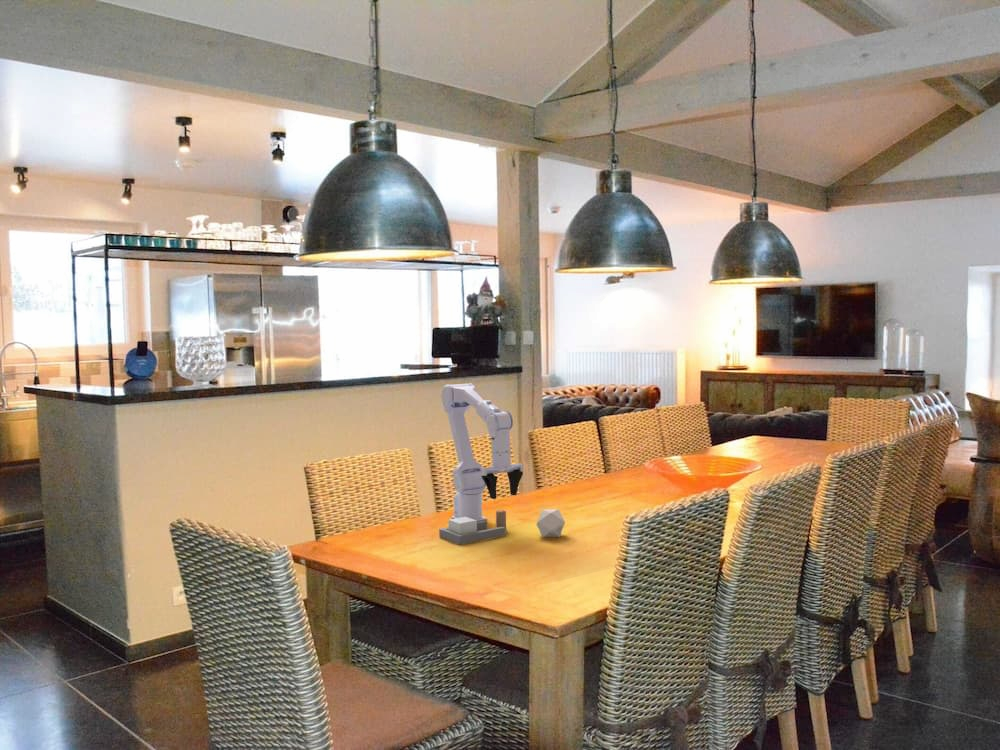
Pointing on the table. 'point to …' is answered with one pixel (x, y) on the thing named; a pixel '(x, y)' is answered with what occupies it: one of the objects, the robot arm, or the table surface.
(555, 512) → the die
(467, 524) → the tethered block
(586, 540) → the table surface
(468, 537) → the dark grey tray
